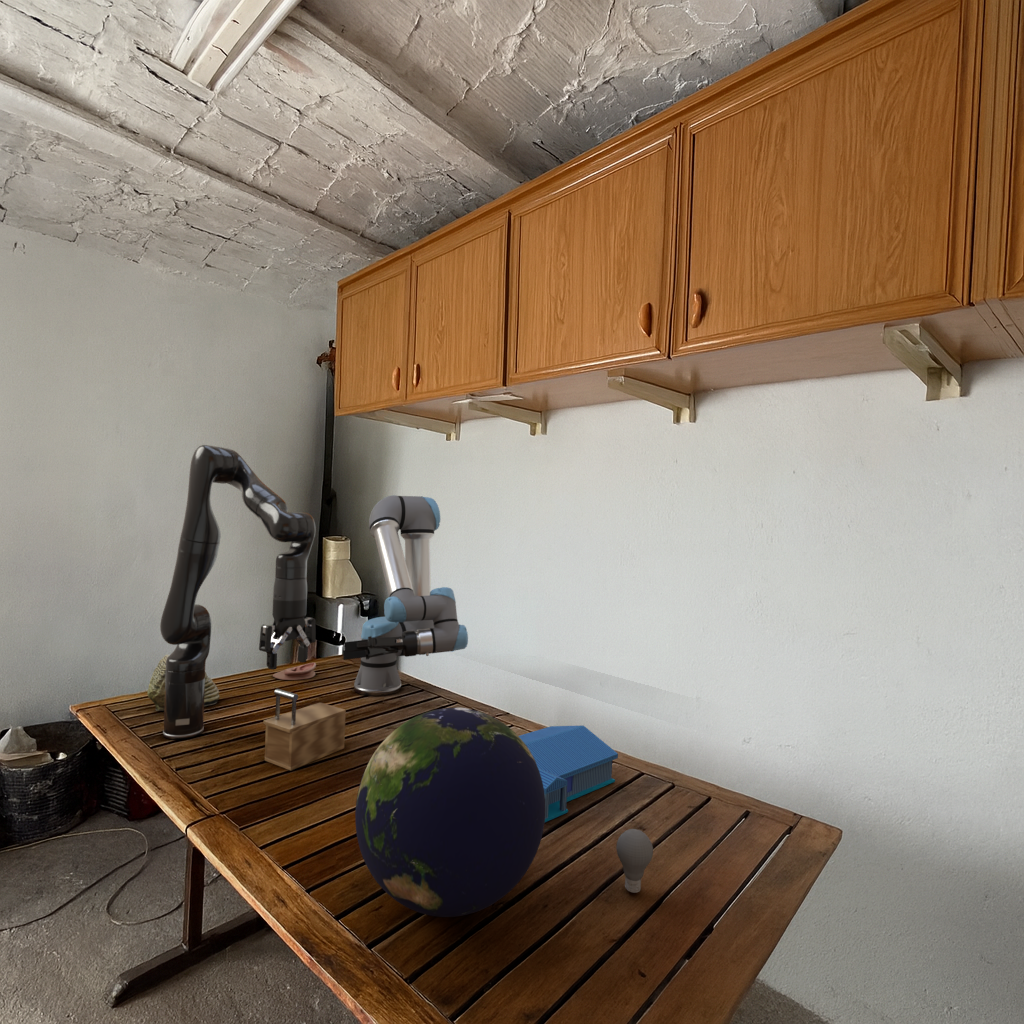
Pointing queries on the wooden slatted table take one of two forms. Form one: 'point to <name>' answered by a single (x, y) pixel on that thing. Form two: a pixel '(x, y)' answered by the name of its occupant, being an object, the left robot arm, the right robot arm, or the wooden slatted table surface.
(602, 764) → the model building
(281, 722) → the lid
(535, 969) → the wooden slatted table surface
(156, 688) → the fossil
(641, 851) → the light bulb
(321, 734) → the chest
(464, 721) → the globe
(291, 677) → the anatomical model
